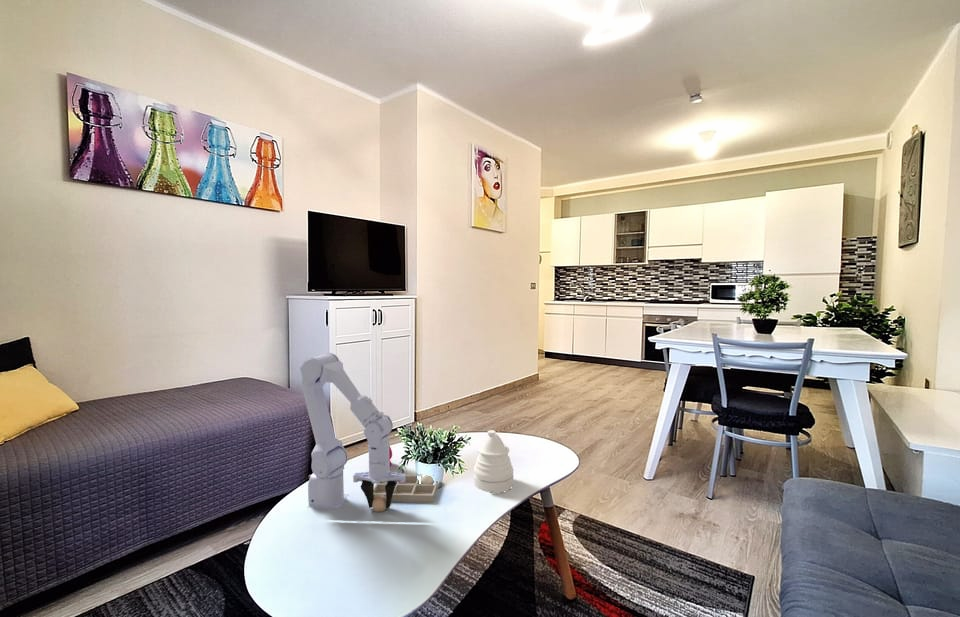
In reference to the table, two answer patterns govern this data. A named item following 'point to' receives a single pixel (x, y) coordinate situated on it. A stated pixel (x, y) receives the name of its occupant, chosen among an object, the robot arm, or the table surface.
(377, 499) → the tan orange ball
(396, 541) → the table surface
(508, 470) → the honey pot
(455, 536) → the table surface
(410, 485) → the carton
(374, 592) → the table surface
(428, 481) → the cream egg right
